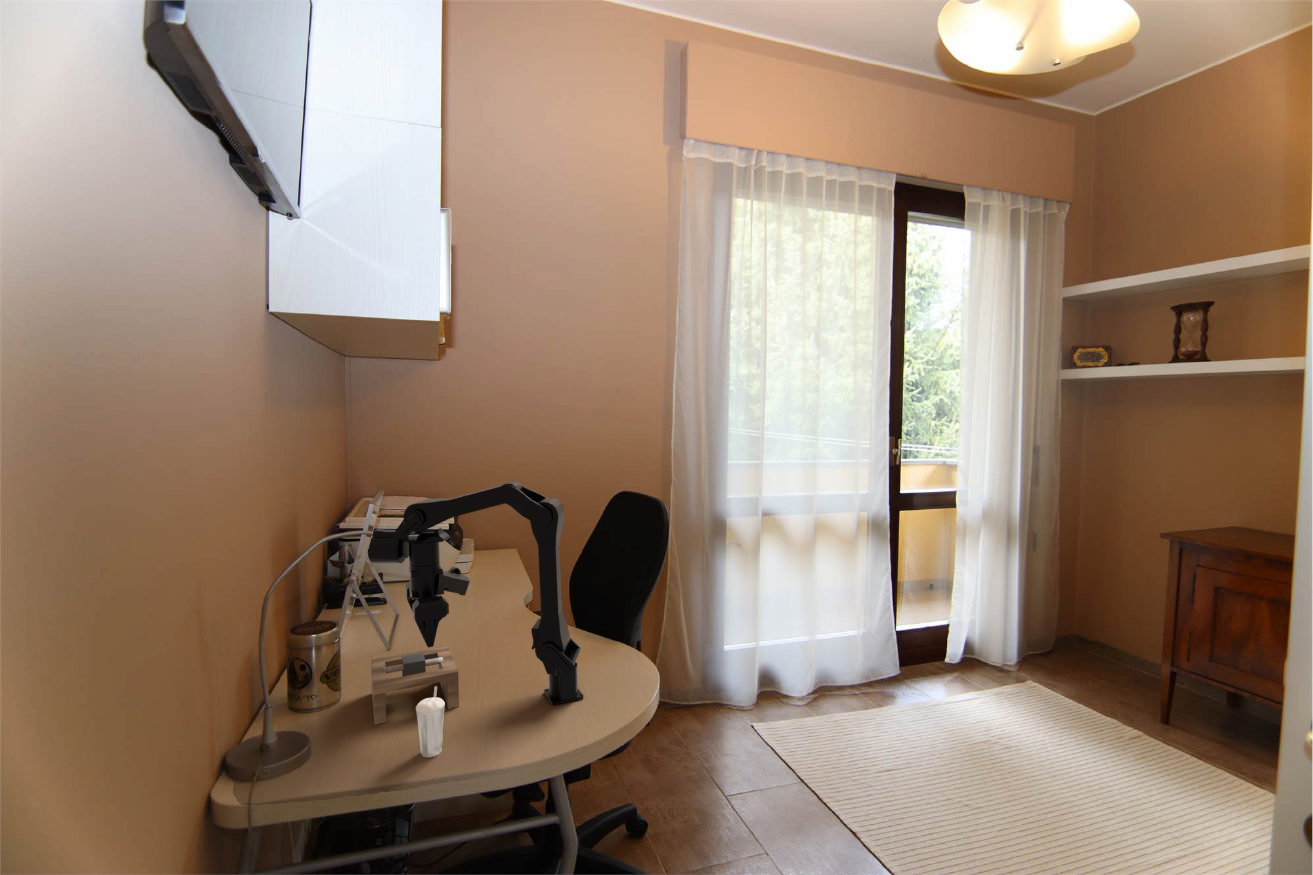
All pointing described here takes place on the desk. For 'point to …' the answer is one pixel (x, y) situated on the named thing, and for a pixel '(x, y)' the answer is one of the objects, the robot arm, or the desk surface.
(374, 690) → the shelf
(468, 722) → the desk surface
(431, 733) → the milkshake
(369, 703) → the desk surface
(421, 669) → the grey slotted box
